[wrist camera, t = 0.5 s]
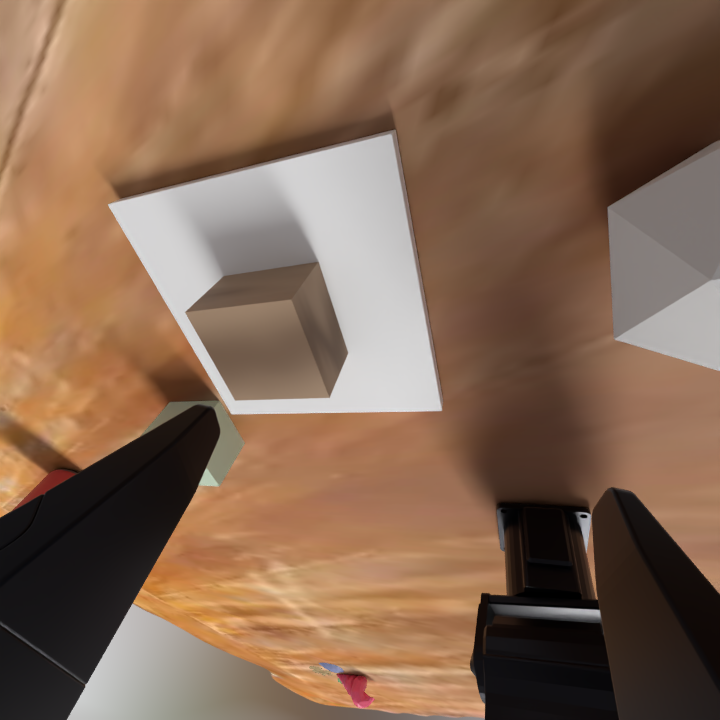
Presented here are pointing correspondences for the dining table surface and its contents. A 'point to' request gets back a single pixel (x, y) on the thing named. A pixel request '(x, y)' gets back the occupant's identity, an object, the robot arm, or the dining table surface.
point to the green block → (225, 446)
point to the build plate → (304, 262)
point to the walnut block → (272, 333)
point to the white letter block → (670, 262)
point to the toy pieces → (349, 684)
